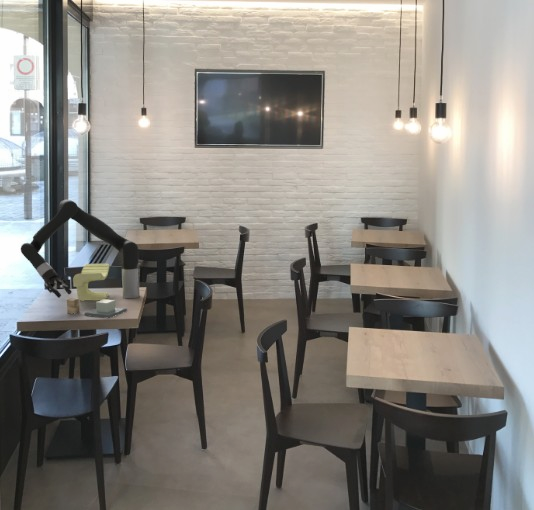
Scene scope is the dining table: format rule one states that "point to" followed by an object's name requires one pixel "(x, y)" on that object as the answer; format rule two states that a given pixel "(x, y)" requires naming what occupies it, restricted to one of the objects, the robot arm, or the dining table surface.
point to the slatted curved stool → (87, 275)
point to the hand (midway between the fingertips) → (65, 295)
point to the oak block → (73, 305)
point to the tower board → (103, 314)
